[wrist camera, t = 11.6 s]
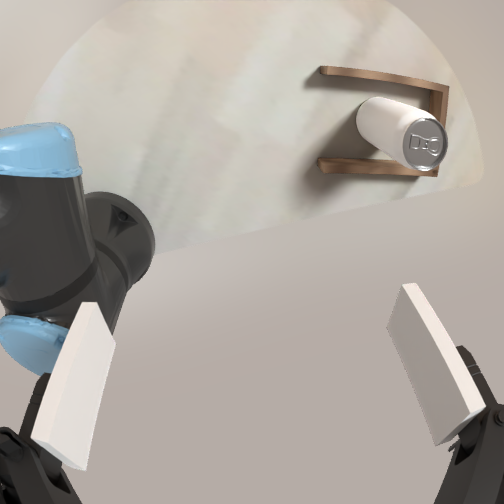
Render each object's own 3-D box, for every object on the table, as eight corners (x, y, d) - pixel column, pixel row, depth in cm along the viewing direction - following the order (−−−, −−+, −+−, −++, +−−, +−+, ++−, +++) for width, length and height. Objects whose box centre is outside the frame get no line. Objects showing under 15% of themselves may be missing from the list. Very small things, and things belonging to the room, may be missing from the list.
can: (394, 146, 37) (443, 178, 27) (351, 140, 37) (393, 172, 27) (401, 100, 34) (455, 119, 24) (357, 92, 33) (404, 107, 23)
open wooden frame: (317, 165, 39) (323, 173, 36) (320, 65, 31) (327, 66, 29) (426, 169, 39) (437, 176, 37) (436, 83, 32) (449, 86, 29)
